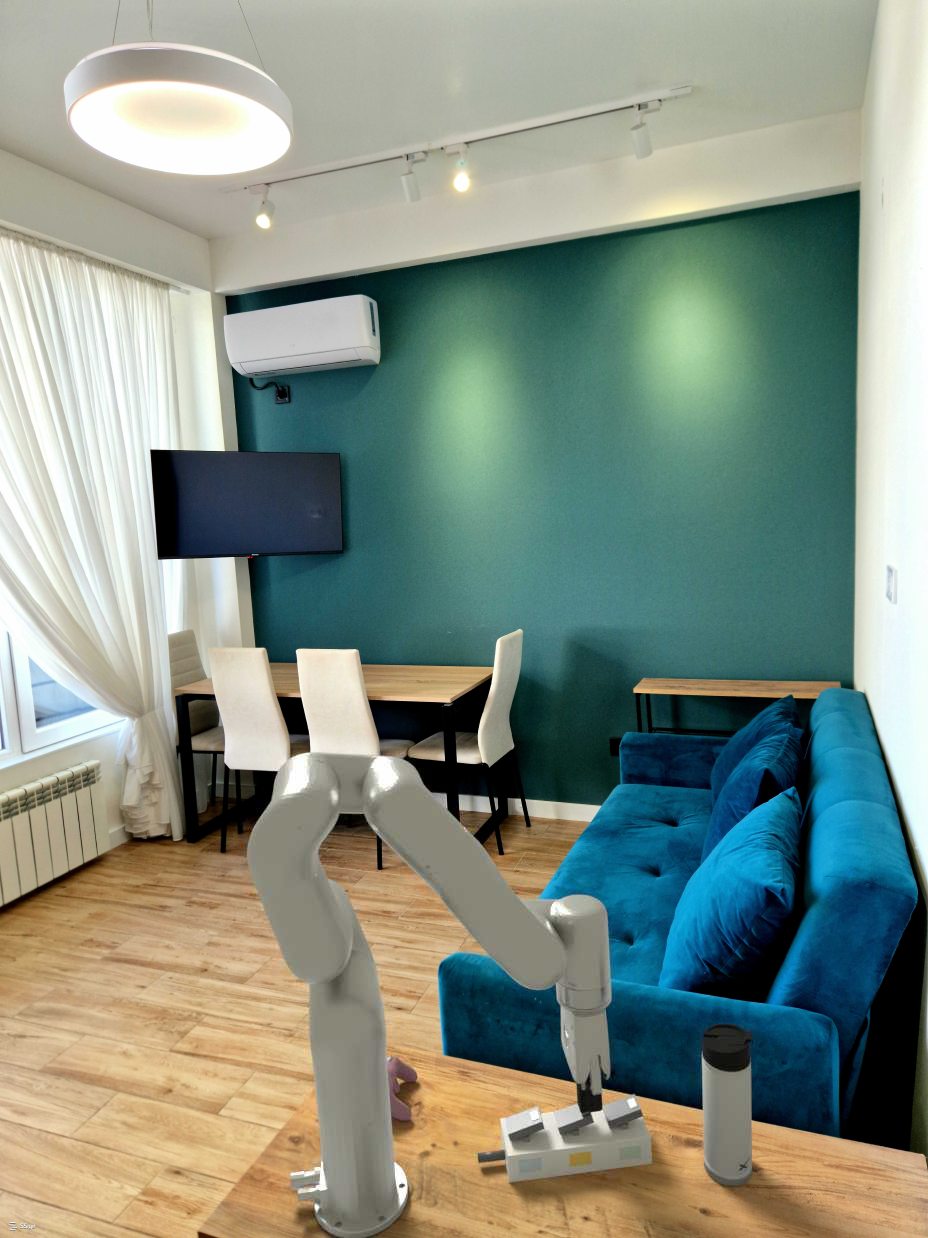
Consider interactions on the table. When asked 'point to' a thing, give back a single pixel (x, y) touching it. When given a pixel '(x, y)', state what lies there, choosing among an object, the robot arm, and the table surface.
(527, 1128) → the block
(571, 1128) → the rocker middle
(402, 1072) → the video game controller
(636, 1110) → the rocker
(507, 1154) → the power strip
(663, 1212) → the table surface
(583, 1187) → the table surface
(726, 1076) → the travel mug
